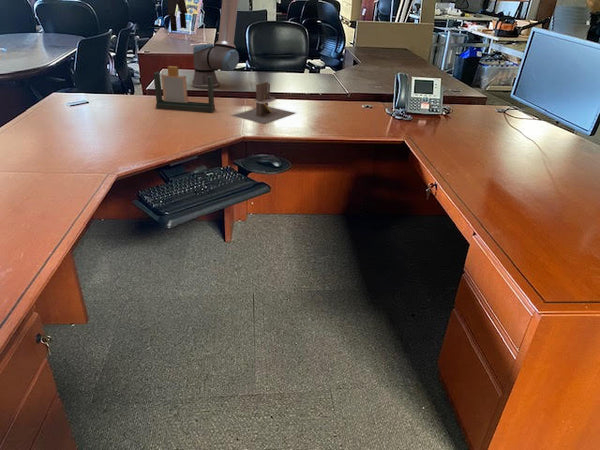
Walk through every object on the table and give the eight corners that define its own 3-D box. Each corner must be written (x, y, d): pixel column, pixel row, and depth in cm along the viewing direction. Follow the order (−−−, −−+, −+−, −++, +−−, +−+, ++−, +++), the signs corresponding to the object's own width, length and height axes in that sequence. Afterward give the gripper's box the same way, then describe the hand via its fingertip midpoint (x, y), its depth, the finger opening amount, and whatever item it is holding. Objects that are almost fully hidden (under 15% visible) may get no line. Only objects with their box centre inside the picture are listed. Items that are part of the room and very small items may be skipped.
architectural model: (295, 113, 222) (296, 83, 215) (264, 123, 204) (265, 91, 197) (264, 105, 232) (264, 76, 224) (232, 115, 213) (231, 84, 206)
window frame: (160, 105, 222) (157, 71, 214) (214, 109, 221) (213, 75, 213) (156, 108, 217) (152, 73, 209) (211, 113, 215) (209, 77, 207)
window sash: (165, 101, 219) (161, 65, 211) (188, 103, 219) (185, 67, 210) (163, 102, 217) (159, 66, 209) (186, 104, 216) (183, 68, 208)
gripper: (176, -22, 214) (179, 26, 225) (156, -22, 193) (161, 31, 203) (191, -21, 214) (194, 27, 224) (173, -21, 192) (177, 32, 203)
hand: (178, 29), depth 214 cm, fingers open, 13 cm apart
